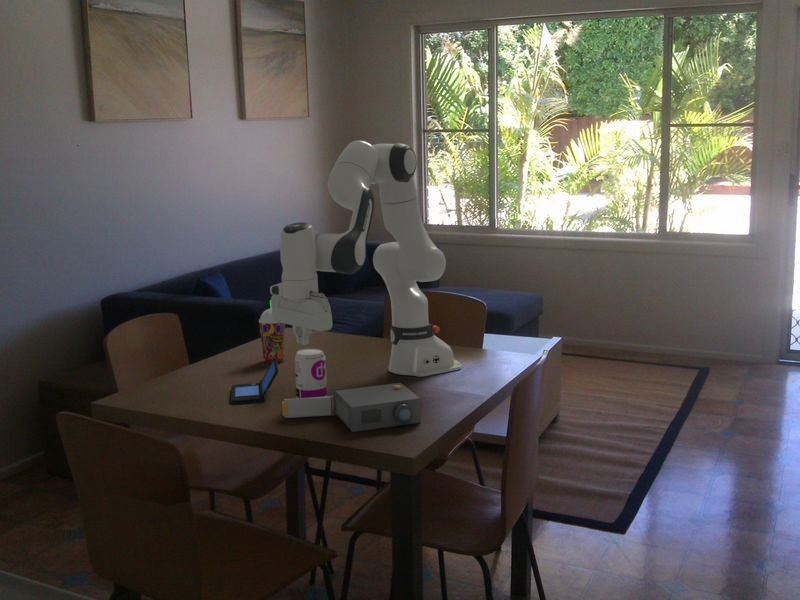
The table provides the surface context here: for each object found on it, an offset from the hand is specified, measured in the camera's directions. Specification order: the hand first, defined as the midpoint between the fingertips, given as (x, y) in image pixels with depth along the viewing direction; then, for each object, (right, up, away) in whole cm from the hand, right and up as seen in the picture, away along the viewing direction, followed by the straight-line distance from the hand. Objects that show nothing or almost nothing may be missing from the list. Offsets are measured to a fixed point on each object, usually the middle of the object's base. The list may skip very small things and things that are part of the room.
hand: (302, 343), depth 224 cm
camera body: (+19, -20, +5) cm, 28 cm away
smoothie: (-16, -9, +66) cm, 68 cm away
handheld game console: (-17, -16, +30) cm, 38 cm away
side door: (+1, -19, +9) cm, 21 cm away
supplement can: (+1, -18, +19) cm, 26 cm away
